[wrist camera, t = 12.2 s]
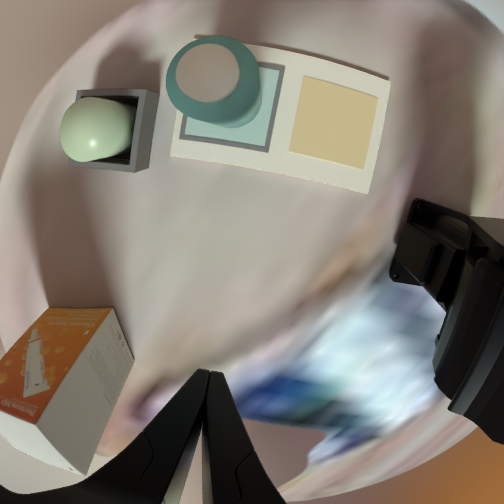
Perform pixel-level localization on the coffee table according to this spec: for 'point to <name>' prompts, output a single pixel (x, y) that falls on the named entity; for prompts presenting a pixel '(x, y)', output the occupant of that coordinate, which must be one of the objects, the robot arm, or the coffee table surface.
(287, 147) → the colouring sheet
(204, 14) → the coffee table surface
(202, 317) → the coffee table surface
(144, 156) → the frame
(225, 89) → the teal marker
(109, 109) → the button
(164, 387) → the coffee table surface
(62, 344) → the small box
